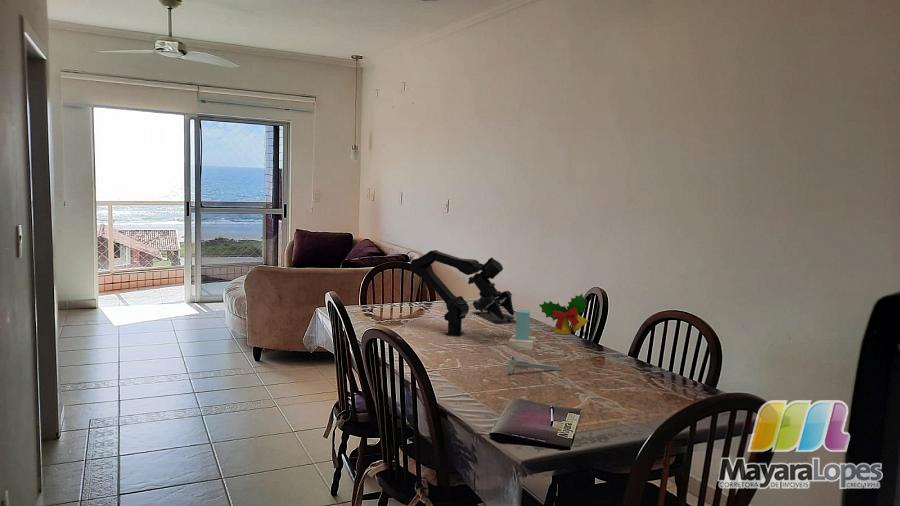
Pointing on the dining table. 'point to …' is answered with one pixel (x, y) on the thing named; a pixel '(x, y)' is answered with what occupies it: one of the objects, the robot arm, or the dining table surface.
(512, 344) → the birch block
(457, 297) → the robot arm
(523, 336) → the teal block
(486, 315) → the circuit board
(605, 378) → the dining table surface
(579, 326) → the ornament
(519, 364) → the caliper
